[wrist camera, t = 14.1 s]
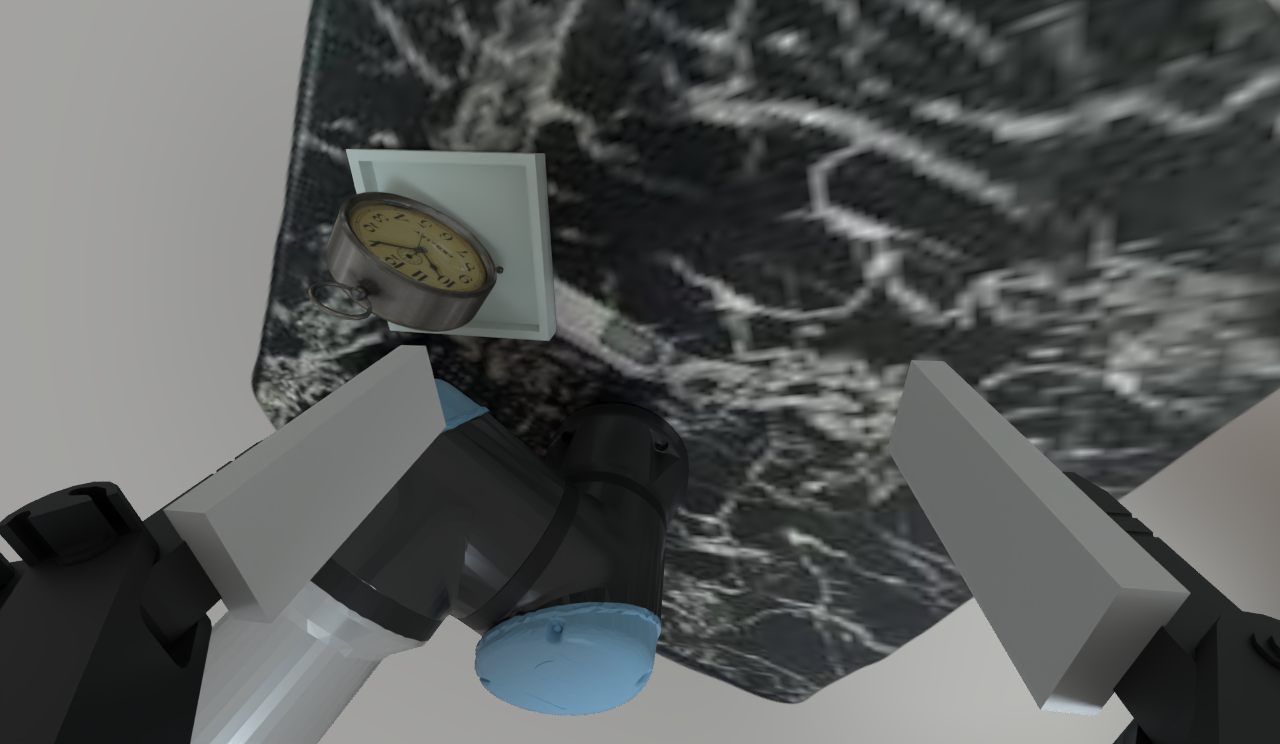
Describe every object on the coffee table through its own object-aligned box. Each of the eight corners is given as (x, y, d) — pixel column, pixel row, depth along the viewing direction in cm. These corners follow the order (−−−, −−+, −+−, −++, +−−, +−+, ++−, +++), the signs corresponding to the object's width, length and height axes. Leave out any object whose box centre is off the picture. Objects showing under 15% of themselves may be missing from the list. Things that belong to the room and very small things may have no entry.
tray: (556, 330, 44) (549, 340, 41) (405, 321, 45) (390, 330, 43) (544, 153, 37) (534, 154, 35) (366, 148, 38) (345, 149, 36)
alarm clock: (522, 264, 40) (424, 334, 26) (493, 309, 43) (387, 396, 28) (413, 179, 38) (239, 204, 24) (387, 231, 40) (215, 283, 26)
